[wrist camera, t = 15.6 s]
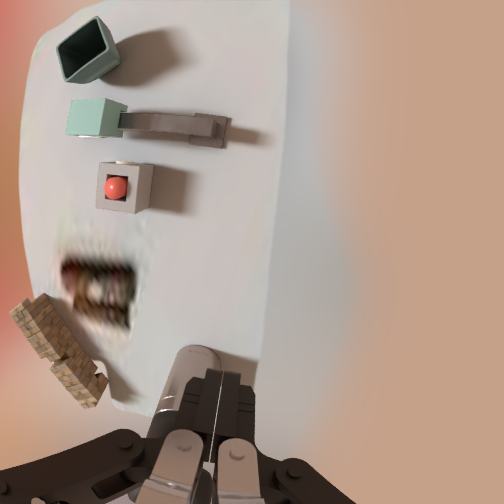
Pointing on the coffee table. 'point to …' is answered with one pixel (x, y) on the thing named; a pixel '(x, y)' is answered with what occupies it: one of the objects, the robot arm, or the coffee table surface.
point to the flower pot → (88, 53)
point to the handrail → (178, 126)
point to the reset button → (116, 187)
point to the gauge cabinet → (136, 186)
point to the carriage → (95, 118)
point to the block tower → (60, 350)
